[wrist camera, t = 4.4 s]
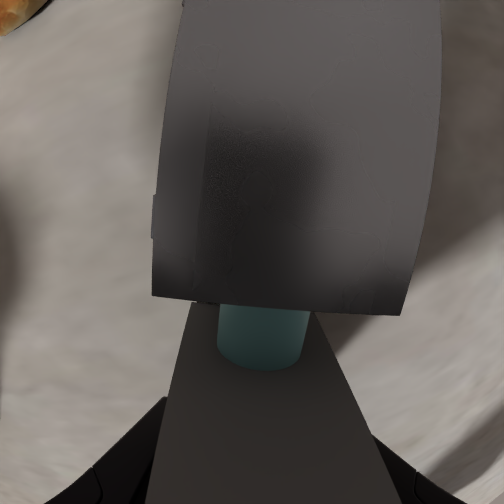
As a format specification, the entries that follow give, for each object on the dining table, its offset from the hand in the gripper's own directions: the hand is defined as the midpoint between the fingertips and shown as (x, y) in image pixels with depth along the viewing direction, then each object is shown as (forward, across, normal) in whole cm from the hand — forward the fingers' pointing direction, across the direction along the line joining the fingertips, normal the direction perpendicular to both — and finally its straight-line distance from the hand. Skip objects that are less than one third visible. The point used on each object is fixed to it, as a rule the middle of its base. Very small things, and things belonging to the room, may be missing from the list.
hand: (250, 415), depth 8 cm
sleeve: (+3, 0, -8) cm, 9 cm away
